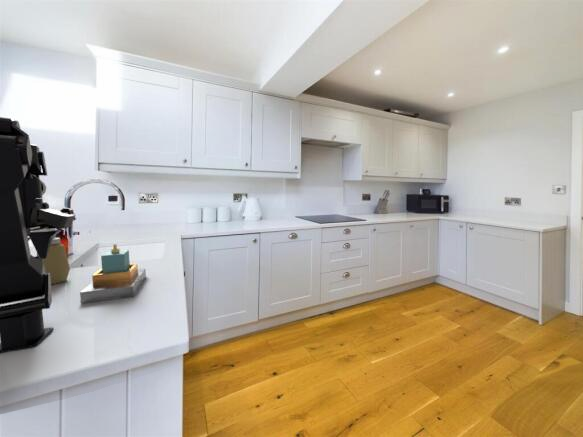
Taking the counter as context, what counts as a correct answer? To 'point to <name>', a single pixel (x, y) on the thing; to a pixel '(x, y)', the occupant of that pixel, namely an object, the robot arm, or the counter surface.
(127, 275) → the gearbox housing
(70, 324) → the counter surface
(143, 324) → the counter surface
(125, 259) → the oil can
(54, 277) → the squeeze bottle
